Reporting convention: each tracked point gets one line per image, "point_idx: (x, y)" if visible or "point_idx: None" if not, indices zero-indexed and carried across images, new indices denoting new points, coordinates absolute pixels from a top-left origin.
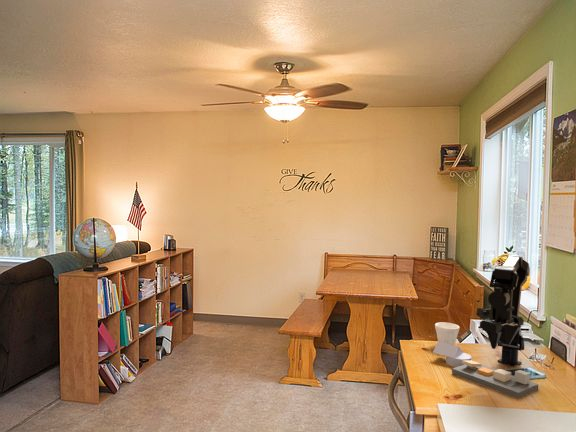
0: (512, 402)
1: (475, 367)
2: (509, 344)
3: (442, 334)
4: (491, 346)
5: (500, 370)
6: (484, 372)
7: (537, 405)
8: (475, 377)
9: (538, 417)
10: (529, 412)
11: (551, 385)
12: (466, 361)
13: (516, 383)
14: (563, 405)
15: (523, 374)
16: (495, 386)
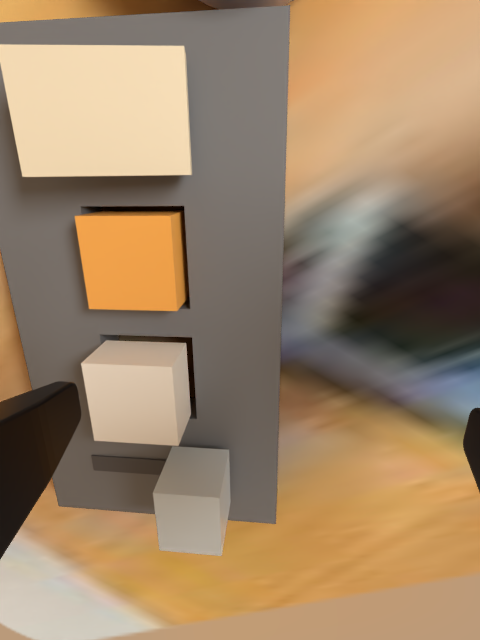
0: None
1: None
2: (474, 452)
3: None
4: (35, 392)
5: (140, 386)
6: (88, 278)
7: (97, 546)
8: (4, 261)
9: (5, 576)
10: (8, 548)
11: (411, 513)
12: (31, 86)
13: (165, 455)
14: (200, 600)
15: (159, 539)
16: None
